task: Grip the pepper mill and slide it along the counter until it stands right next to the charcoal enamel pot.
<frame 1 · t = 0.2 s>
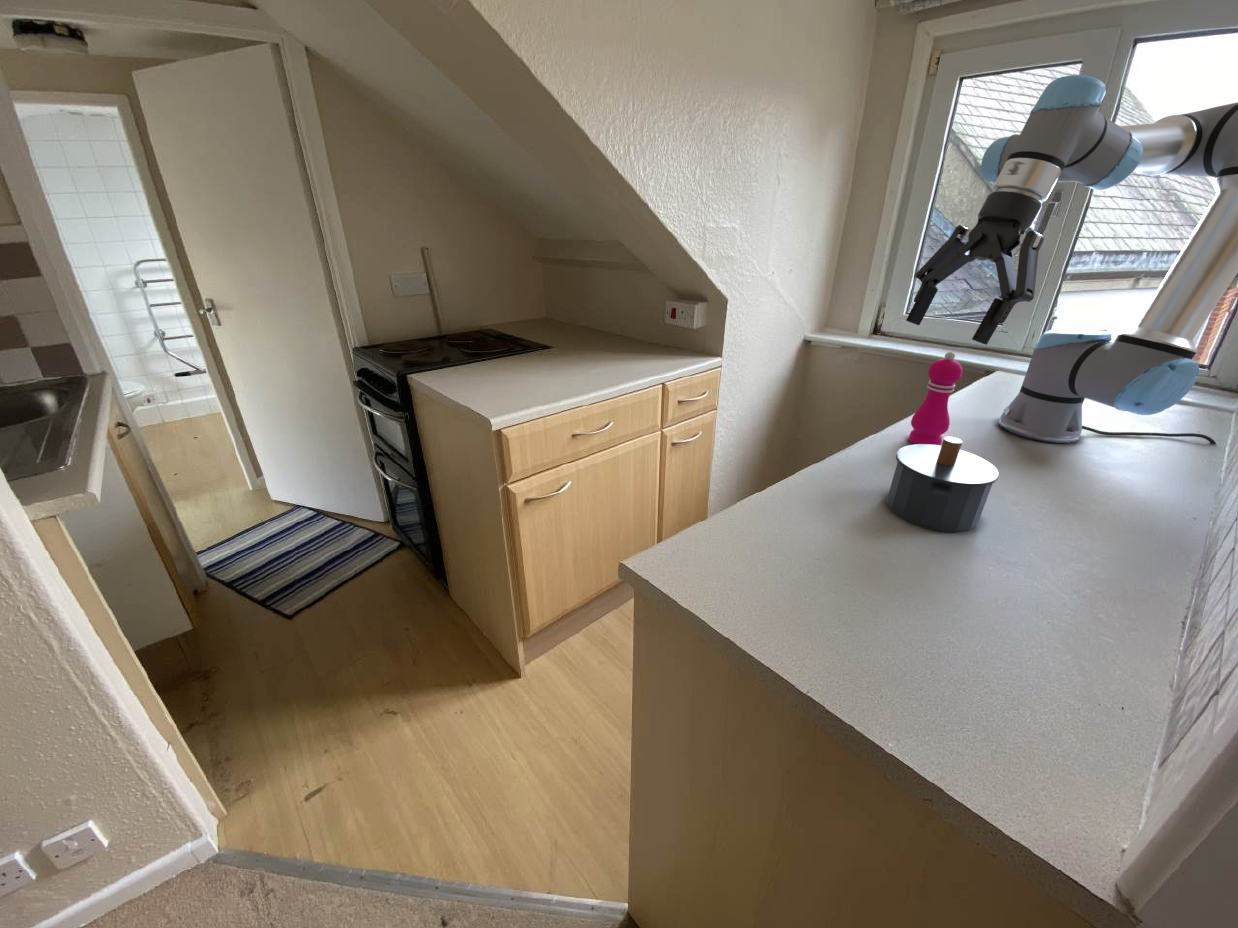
hand: (943, 332, 89), 28 cm above the counter, tool tilted 20°, fingers open, 13 cm apart
pot: (930, 510, 90), on the counter
pepper mill: (924, 442, 116), on the counter
pot lid: (944, 465, 86), point 8 cm above the counter, touching pot
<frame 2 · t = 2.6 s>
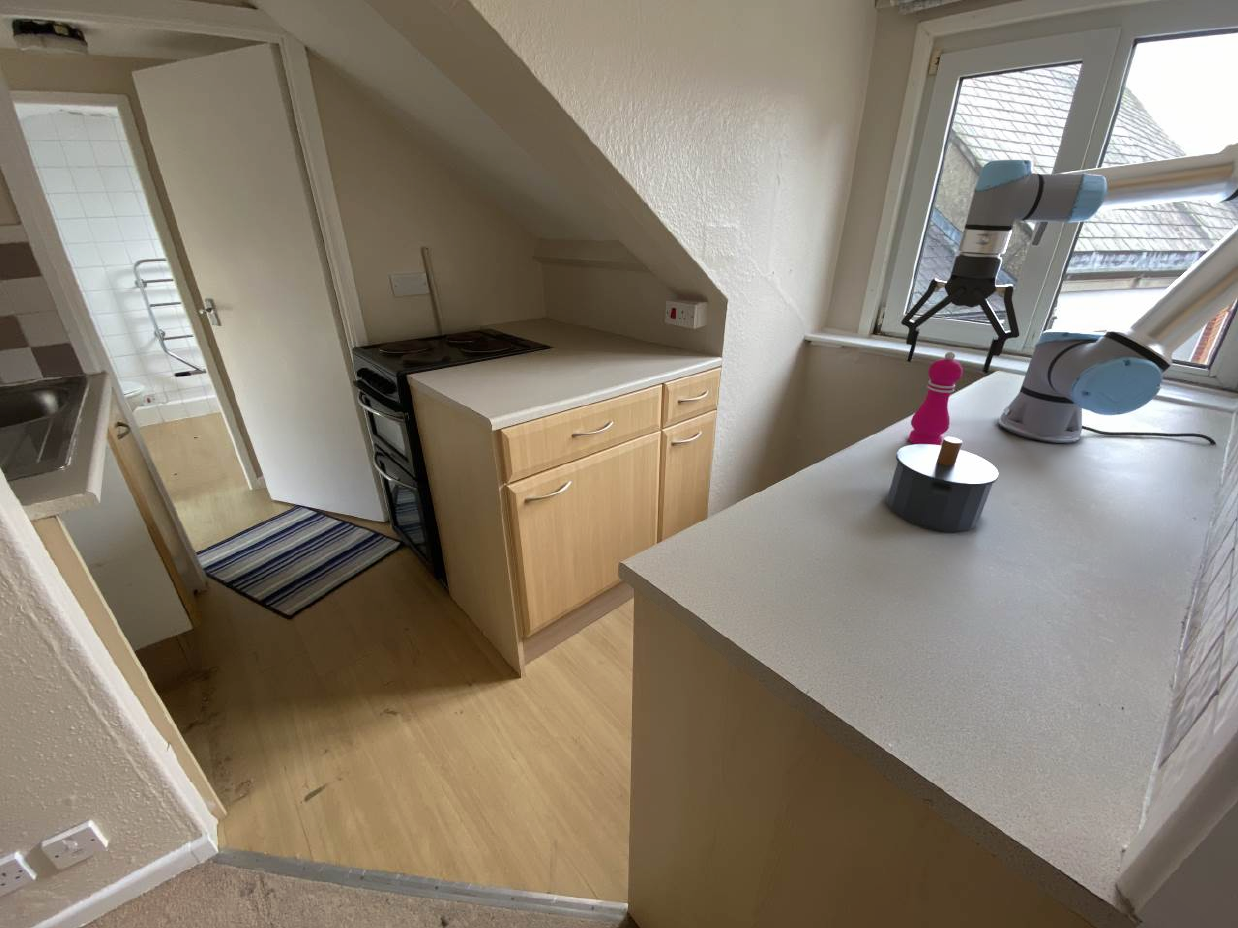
hand: (946, 365, 108), 17 cm above the counter, tool pointing down, fingers open, 13 cm apart
nothing on the counter moved.
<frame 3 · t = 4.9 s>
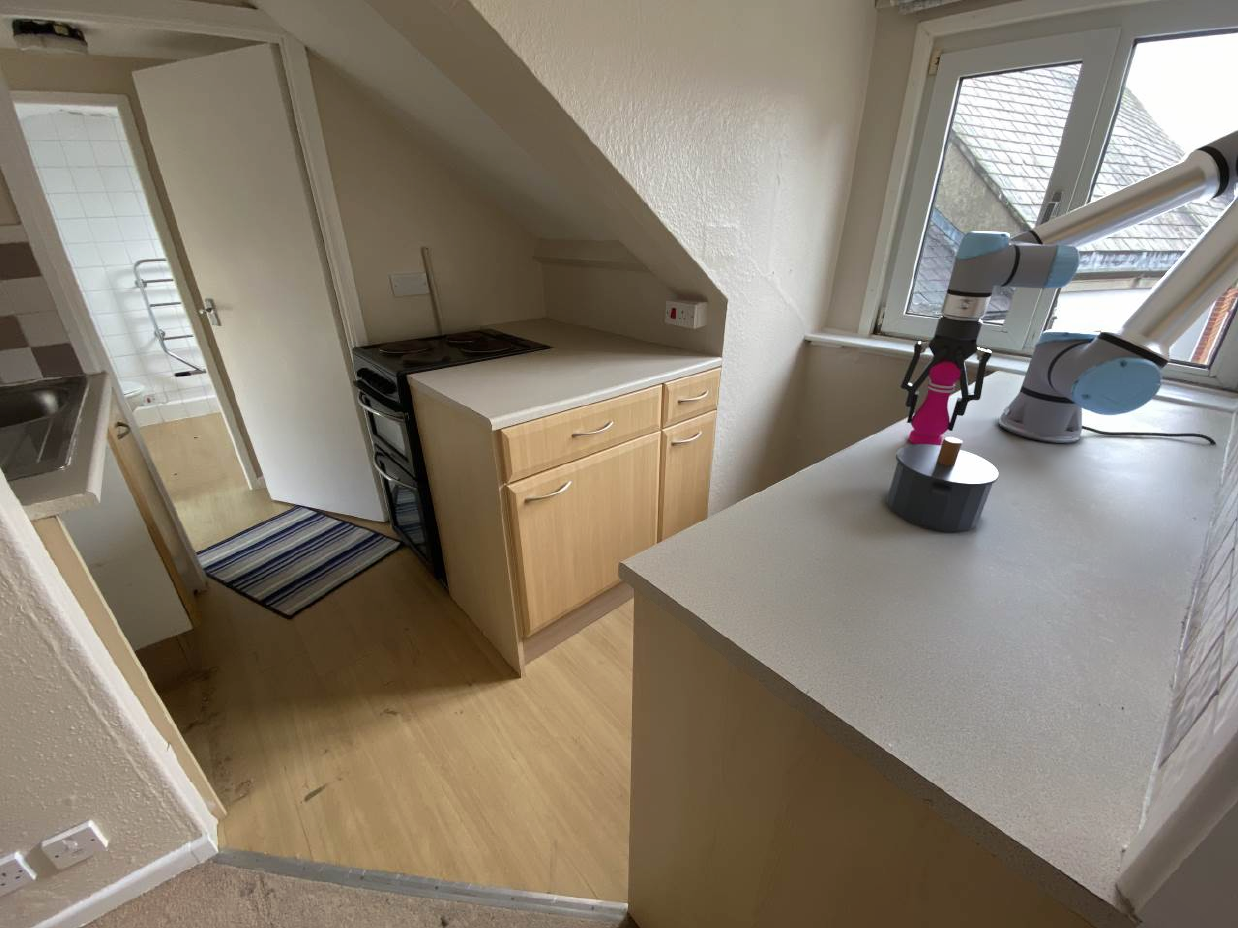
hand: (929, 424, 114), 4 cm above the counter, tool pointing down, fingers closed on pepper mill, 7 cm apart
pepper mill: (924, 442, 116), on the counter, touching gripper
everything else where it was.
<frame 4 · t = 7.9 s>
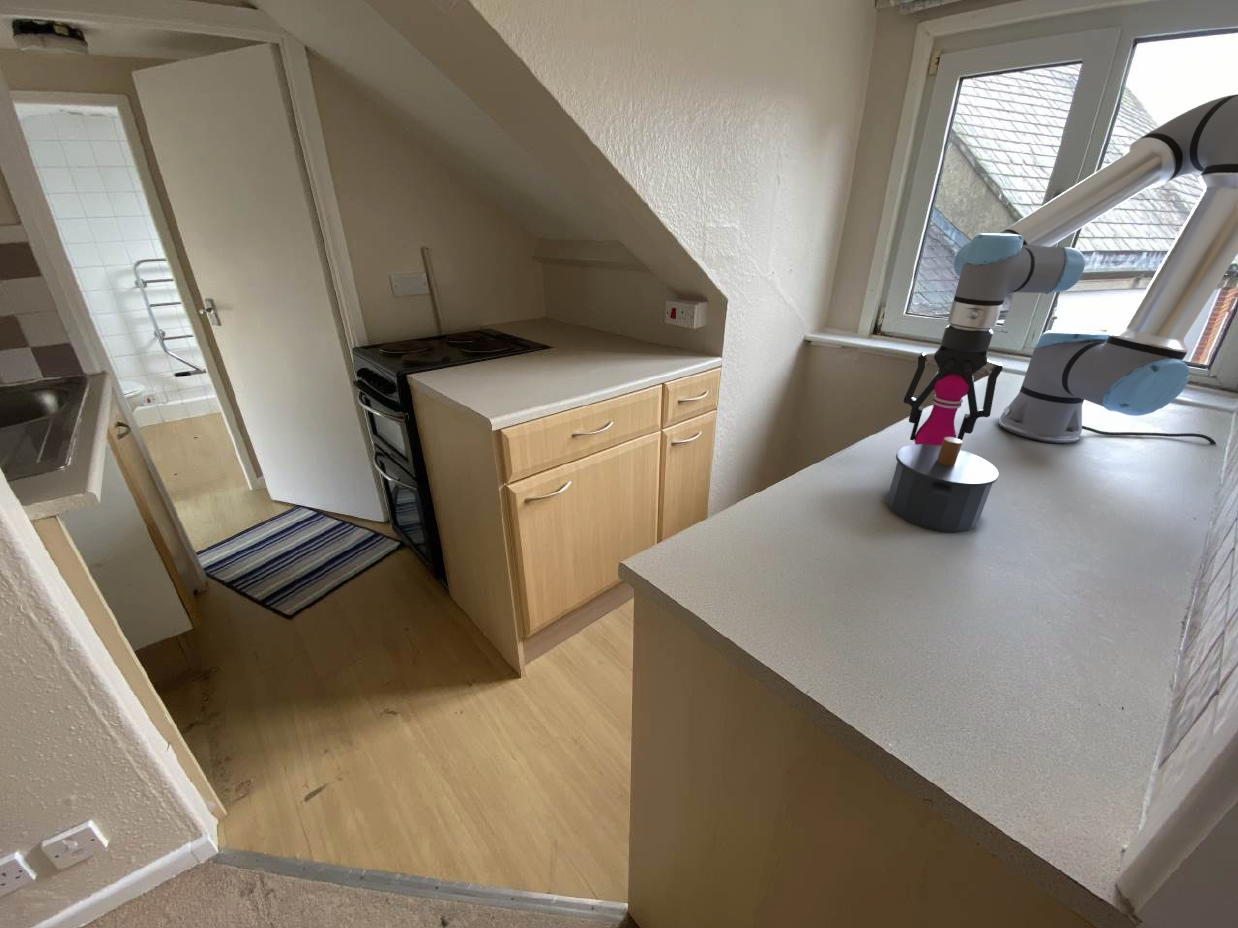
hand: (934, 442, 106), 4 cm above the counter, tool pointing down, fingers closed on pepper mill, 7 cm apart
pepper mill: (928, 461, 108), on the counter, touching gripper
everything else where it was.
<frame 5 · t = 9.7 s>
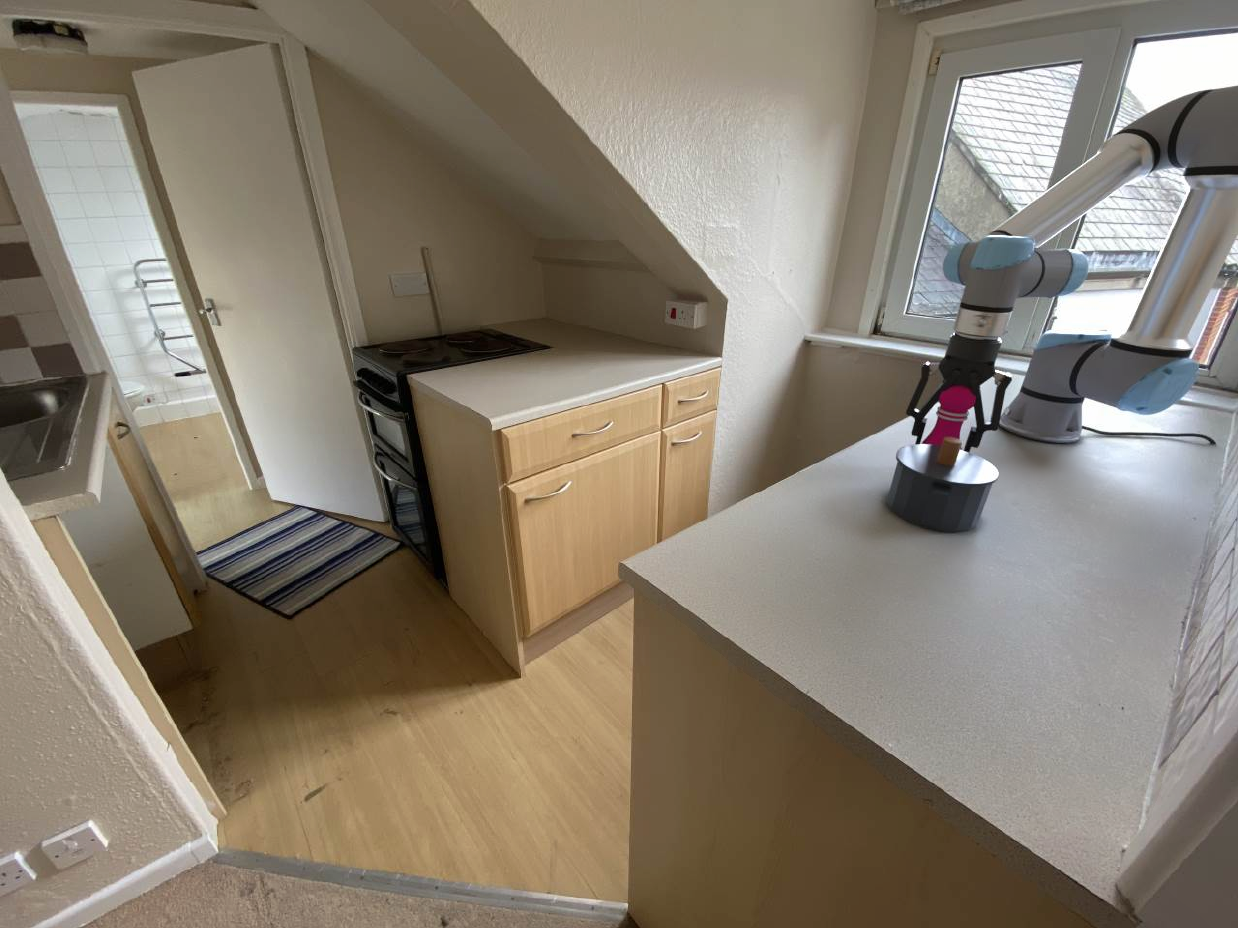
hand: (938, 456, 100), 4 cm above the counter, tool pointing down, fingers closed on pepper mill, 7 cm apart
pepper mill: (932, 476, 102), on the counter, touching gripper
everything else where it was.
when the fingers open (4 cm above the counter, at t = 10.9 s): pepper mill stays where it is, on the counter.
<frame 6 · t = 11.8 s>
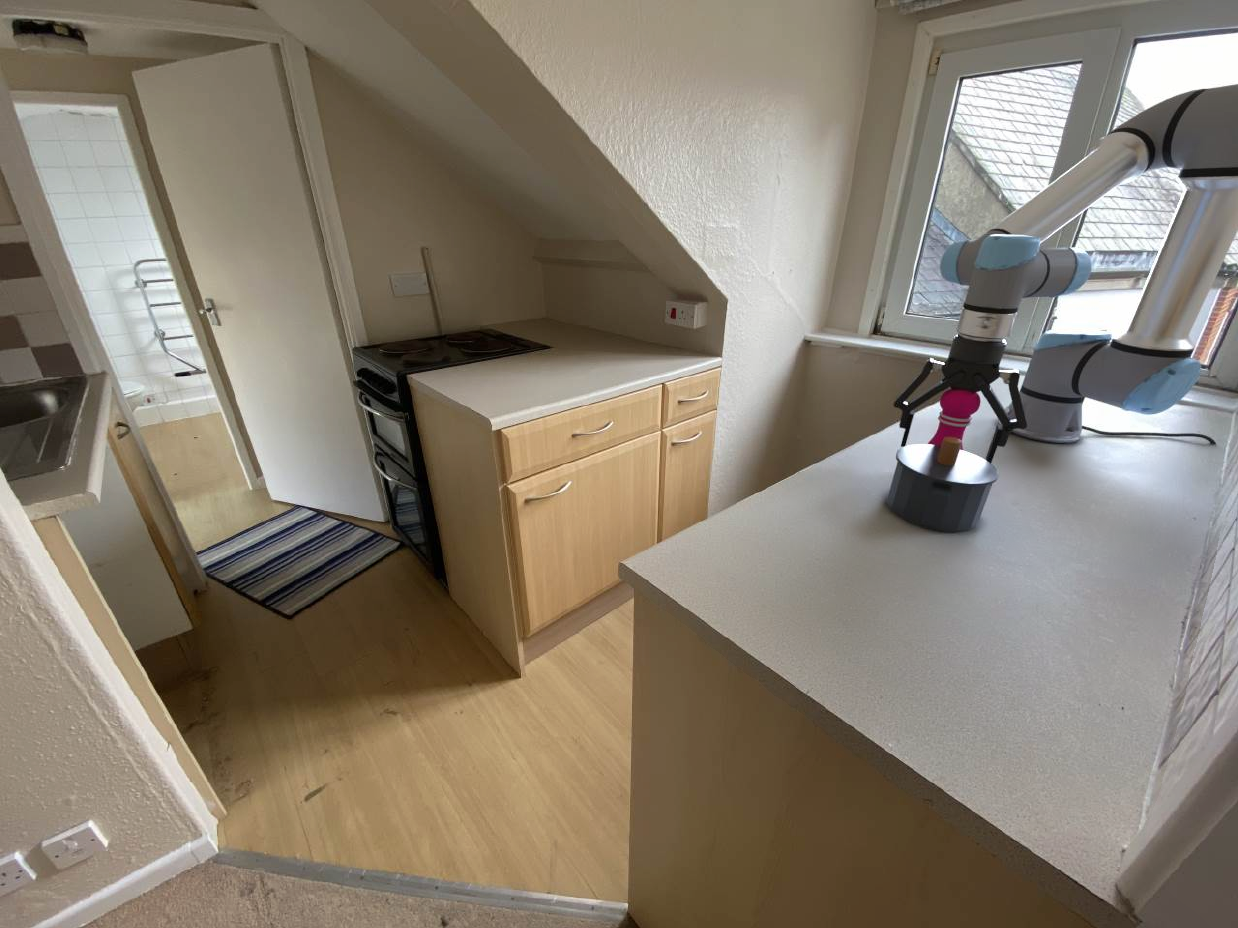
hand: (944, 452, 97), 6 cm above the counter, tool pointing down, fingers open, 13 cm apart
pepper mill: (934, 482, 100), on the counter
everything else where it was.
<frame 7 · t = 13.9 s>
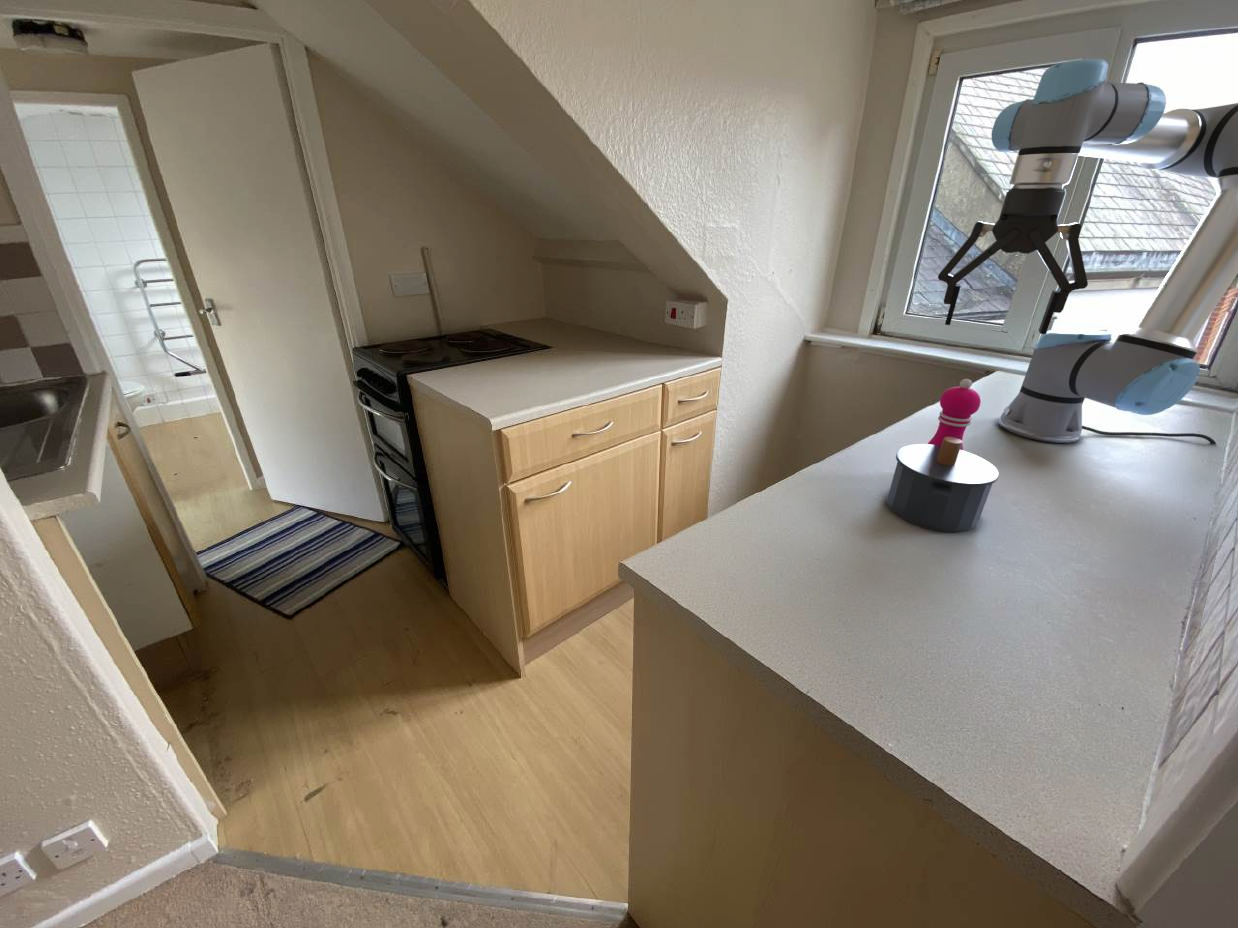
hand: (993, 328, 90), 28 cm above the counter, tool pointing down, fingers open, 13 cm apart
nothing on the counter moved.
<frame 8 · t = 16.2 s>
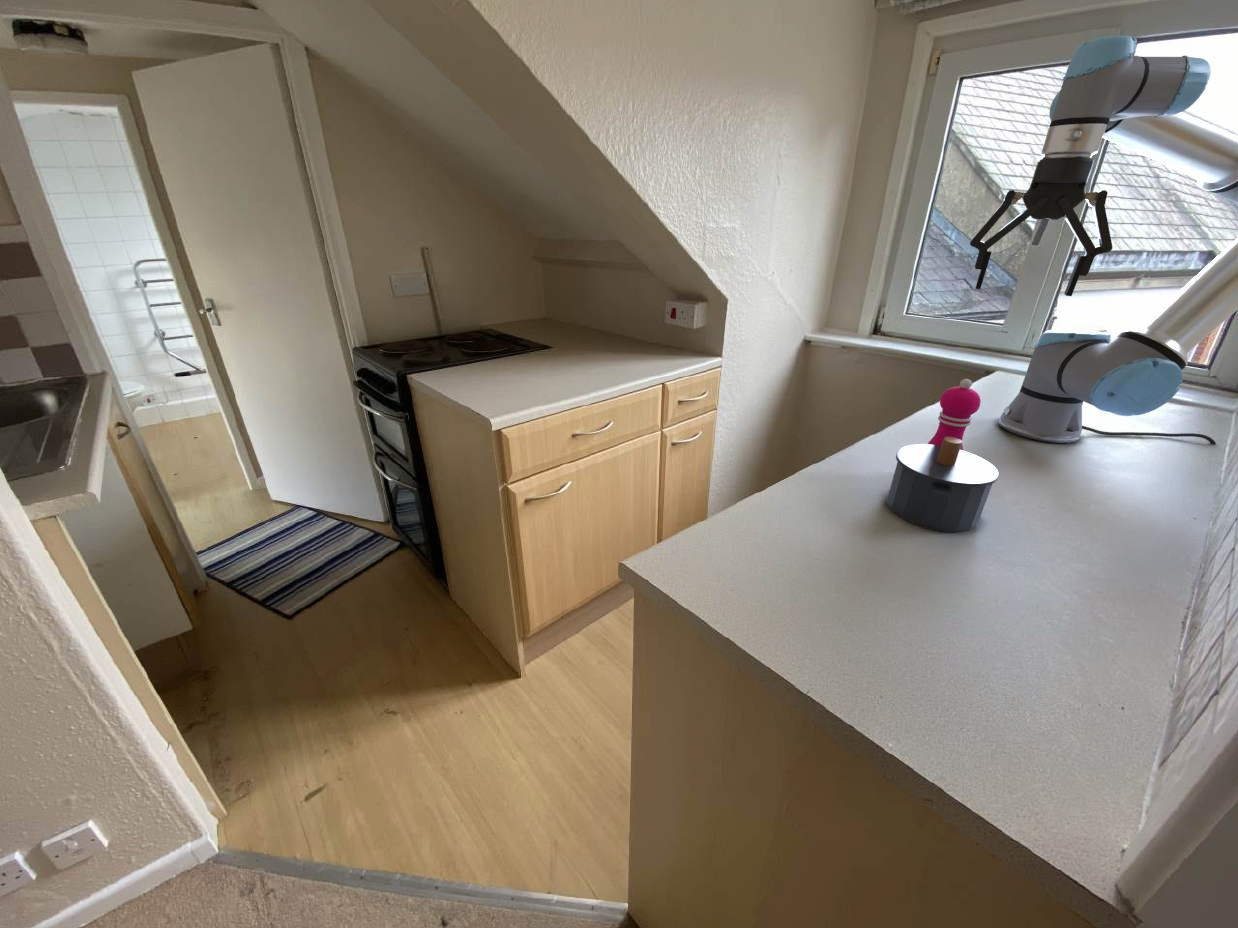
hand: (1021, 291, 96), 33 cm above the counter, tool pointing down, fingers open, 13 cm apart
nothing on the counter moved.
at the end: pepper mill 12.1 cm from the pot (horizontally); pepper mill tilted 0°; pepper mill moved 20.1 cm from its start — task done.
